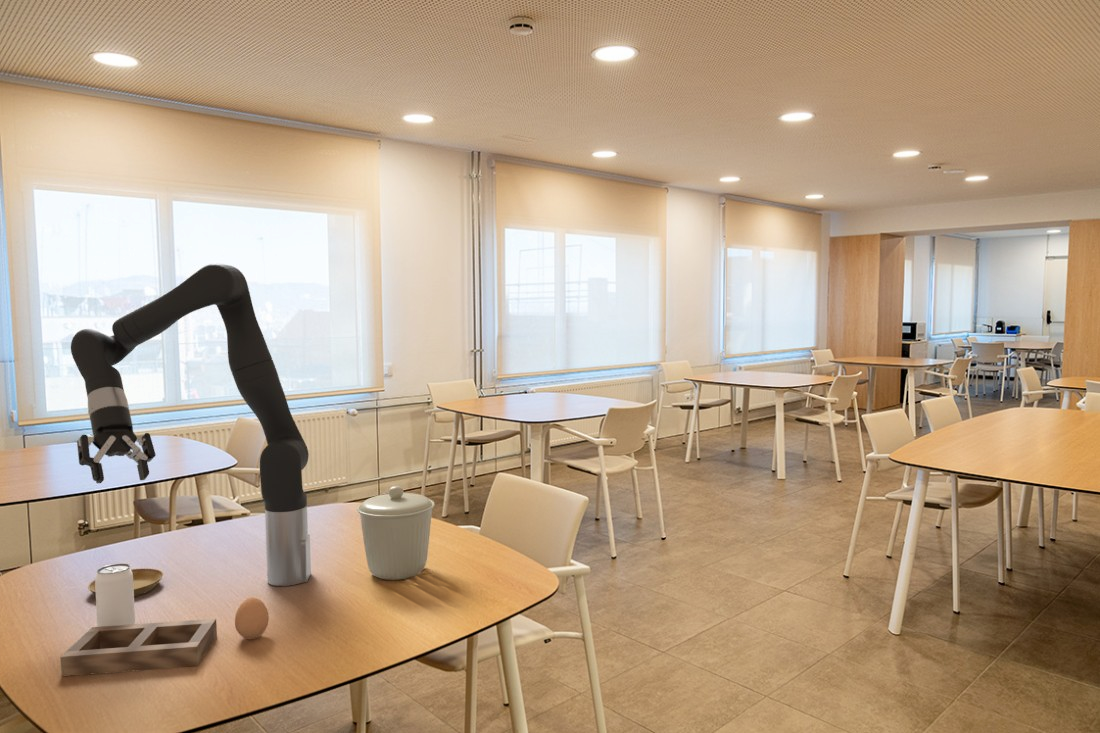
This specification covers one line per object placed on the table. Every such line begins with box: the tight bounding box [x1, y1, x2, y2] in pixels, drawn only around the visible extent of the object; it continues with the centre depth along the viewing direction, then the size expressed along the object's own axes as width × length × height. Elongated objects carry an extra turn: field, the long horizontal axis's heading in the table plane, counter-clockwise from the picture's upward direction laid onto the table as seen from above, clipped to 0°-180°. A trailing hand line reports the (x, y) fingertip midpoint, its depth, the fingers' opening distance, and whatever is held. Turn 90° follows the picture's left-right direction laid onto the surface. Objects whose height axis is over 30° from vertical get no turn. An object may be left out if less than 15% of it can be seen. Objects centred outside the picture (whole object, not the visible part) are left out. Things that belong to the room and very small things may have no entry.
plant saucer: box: [87, 568, 164, 597], centre depth 165 cm, size 15×15×3 cm
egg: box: [234, 596, 270, 640], centre depth 140 cm, size 6×6×8 cm
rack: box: [59, 618, 218, 677], centre depth 133 cm, size 22×12×4 cm, turn 99°
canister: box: [356, 485, 436, 581], centre depth 174 cm, size 18×18×21 cm
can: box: [94, 562, 136, 627], centre depth 145 cm, size 6×6×12 cm
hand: (122, 480), depth 154 cm, fingers open, 8 cm apart
